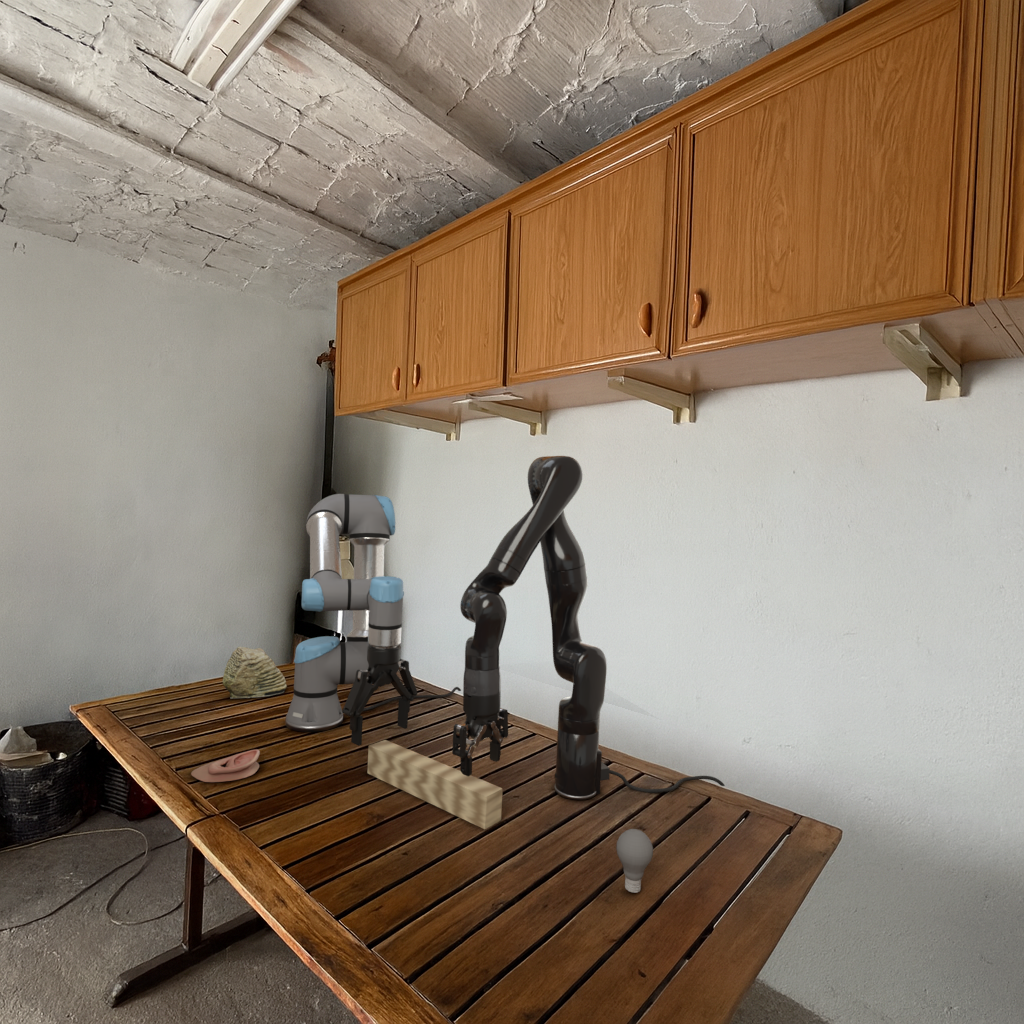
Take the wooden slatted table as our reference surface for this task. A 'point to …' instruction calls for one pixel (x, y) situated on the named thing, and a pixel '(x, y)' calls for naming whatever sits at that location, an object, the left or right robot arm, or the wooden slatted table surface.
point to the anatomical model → (229, 768)
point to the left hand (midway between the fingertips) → (380, 735)
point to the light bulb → (634, 857)
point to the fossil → (252, 674)
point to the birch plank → (436, 783)
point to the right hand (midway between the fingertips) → (480, 767)
